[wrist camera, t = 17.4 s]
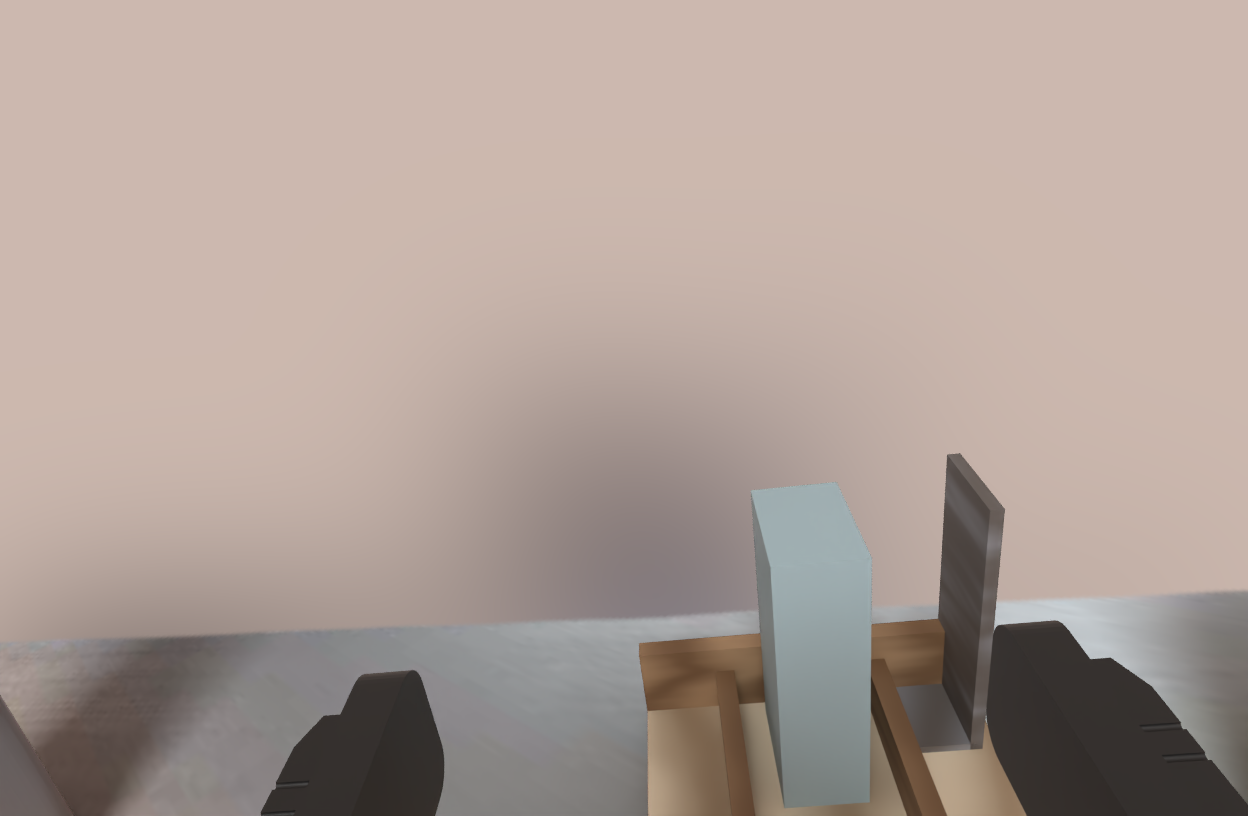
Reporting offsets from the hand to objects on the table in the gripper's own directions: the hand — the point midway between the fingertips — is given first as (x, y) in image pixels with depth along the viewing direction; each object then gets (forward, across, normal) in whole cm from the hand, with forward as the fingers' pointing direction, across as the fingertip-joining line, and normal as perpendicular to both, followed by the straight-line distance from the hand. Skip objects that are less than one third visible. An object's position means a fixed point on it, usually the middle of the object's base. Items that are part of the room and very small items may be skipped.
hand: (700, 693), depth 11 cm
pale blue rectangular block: (+20, -5, +25) cm, 32 cm away
